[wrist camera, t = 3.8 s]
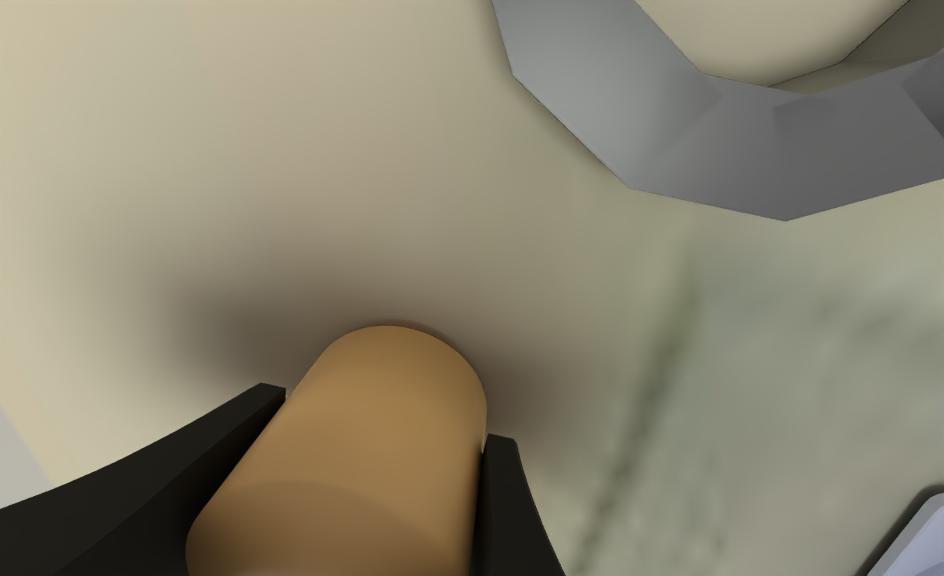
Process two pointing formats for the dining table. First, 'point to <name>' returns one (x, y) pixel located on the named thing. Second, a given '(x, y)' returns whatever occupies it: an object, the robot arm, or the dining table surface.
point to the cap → (356, 469)
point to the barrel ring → (736, 109)
